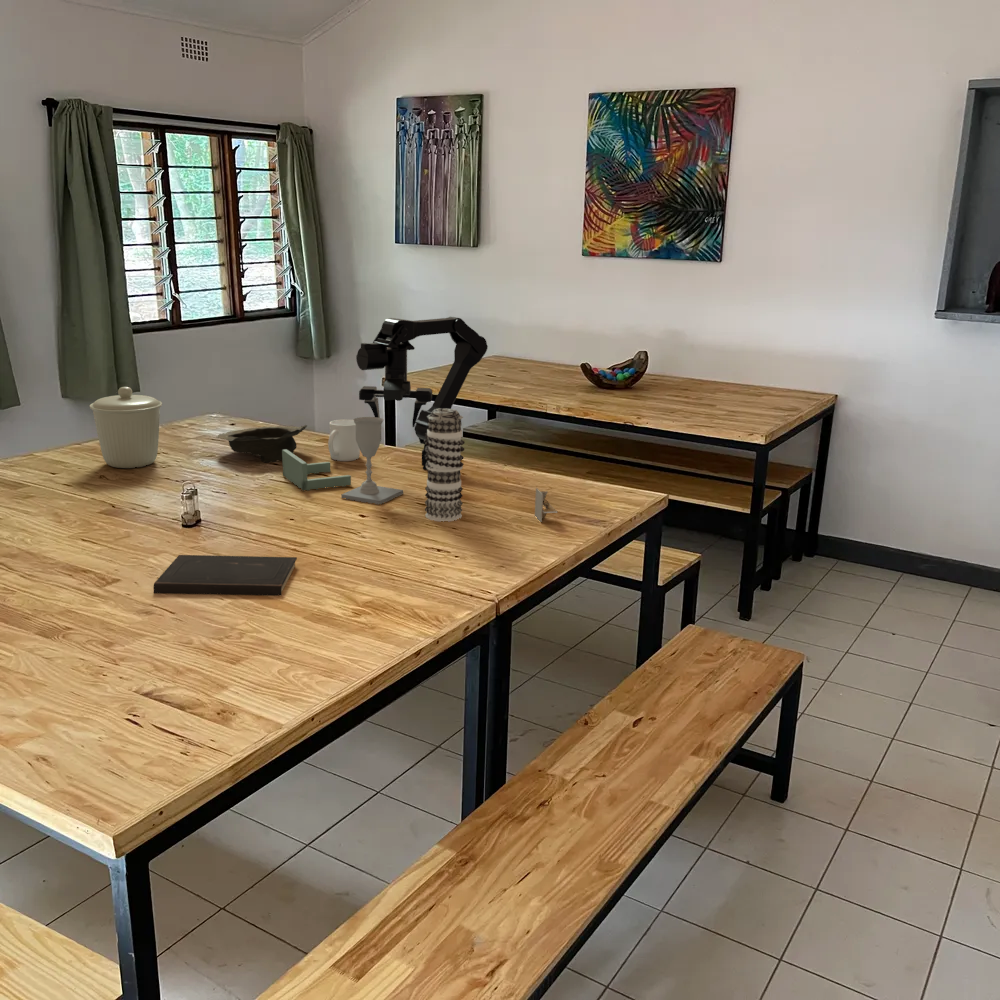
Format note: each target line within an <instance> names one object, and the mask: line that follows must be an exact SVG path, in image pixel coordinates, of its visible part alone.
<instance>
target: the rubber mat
mask: <svg viewBox="0 0 1000 1000" xmlns="http://www.w3.org/2000/svg"><path fill="white" fill-rule="evenodd" d="M360 487H361V485H360V486H357V487H355V488H353V489H351V490H348V491H346V492H344V493H341V496H340V497H341V498H340V499H342V498H346V499H345V500H348V499H350V501H354V500H355V502H360V501H361V503H366V502H368V503H367V504H372V503H375V504H374V505H379V504H381V505H382V503H383V504H384V502H385V503H388V502H389V501H391V500H393V498H394V499H396V498H398V497H400V496H402V495H404V490H403V489H399V488H394V487H393V488H392V487H386V486H381V485H377V487H378V489H379V492H378V493H375V494H363V493H360V492H359V490H360ZM395 497H396V498H395Z"/></svg>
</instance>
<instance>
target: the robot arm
mask: <svg viewBox="0 0 1000 1000" xmlns="http://www.w3.org/2000/svg"><path fill="white" fill-rule="evenodd" d="M440 334H443V335H444V334H449V336H450V338H451V339H450V340H452V341H453V343H454V344H455V348H454V350H453V351H454V352H453V353H454V354H453V355H454V361H453V363H452V365H451V367H450V369H449V371H448V373H447V375H446V377H445V380H444V381H443V383H442V385H441V387H440V389H439V392H438V393H437V395H436V397H435V399H434V401H433V404H432V405H431V407H430V408H429V409H428V410H424V409H422V406H426V405H427V403H431V402H432V400H433V389H431V388H430V387H417V388H416V390H411V389H412V388H411V387H412V385H411V381H410V380H409V381H408V351H413V350H415V348H416V347H414V345H412V344H411V342H410V341H412V340H414V339H416V338H418V337H421V336H431V335H440ZM488 347H489V346H488V343H487V339H486V338H485V337H483V336H482V335H480V334H479V333H478V332H476V331H475V330H474V329H473V328H472V327H471V326H469V325H468V324H467V323H466V322H465V321H464V320H463V319H462V318H460V317H455V316H449V317H441V318H430V319H421V320H420V319H419V320H409V319H401V318H395V317H388V318H386V319H385V320H384V321H383V323H382V324H381V327H380V330H379V331H378V333H377V335H376V336H375V338H374V340H373V341H372V343H371V342H370V343H369V342H368V343H367V342H361V343H360V348H359V349H358V350H357V354H356V355H355V356H356V359H355V360H356V363H357V367H358V368H359V370H361V371H370V370H371V371H373V370H383V369H384V381H383V387H382V388H383V389H378V388H377V386H375V385H374V386H371V385H370V386H368V385H364V386H362V387H361V388H360V390H359V391H358V393H359V394H358V399H359V401H363V402H364V404H368V406H369V407H370V409H371V410H372V413H373V417H378V418H381V417H380V406H379V398H383V399H384V400H385V401H393V400H394V401H400V402H401V401H402V400H403V399H415V401H414V405H413V408H414V409H413V415H412V421H411V423H412V425H411V427H412V428H414V430H413V431H414V432H415V435H416V437H417V438H418V440H419V443H420V444H421V445H422V444H423V449H421V466H422V469H423V470H428V469H427V468H426V465H425V464H426V462H427V461H428V460H426V458H425V455H426V451H425V448H426V446H427V445H426V444H425V442H424V440H425V438H426V437H425V436H424V435H426V434H425V433H427V429H428V417H427V416H428V415H430V414H431V412H432V411H433V410H435V409H439V408H450V409H452V407H453V405H454V403H455V402H456V400H457V399H456V398H457V397H458V395H459V393H460V391H461V389H462V387H463V385H464V382H465V381H466V378H467V377H468V375H469V373H470V371H471V370H472V369H473V368H474V366H476V365H477V364H478V363H480V361H482V359H483V357H484V356H485V355H486V353H487V350H488ZM428 442H429V440H428Z"/></svg>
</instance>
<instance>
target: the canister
mask: <svg viewBox="0 0 1000 1000" xmlns="http://www.w3.org/2000/svg"><path fill="white" fill-rule="evenodd" d="M117 394H118V395H110V396H105V397H101V398H97V400H94V402H92V403H91V404H89V409H90V410H92V413H93V414H92V415H93V418H94V419H93V420H94V423H95V429H96V434H97V438H98V442H99V446H100V451H101V454H102V458H103V460H104V462H105V463H106V464H107V465H108V466H110V467H113V468H118V469H136V468H135V467H137V468H142V467H143V468H144V467H147V466H149V465H152V464H153V463H154V462H155V461H156V459H157V457H158V451H159V441H160V440H159V437H160V436H159V435H160V417H161V414H160V411H161V410H160V409H161V407H162V406H163V402H162V401H161V400H158V399H157V398H155V397H153V396H148V395H145V394H144V395H141V394H133V390H132V388H131V387H130V386H129V387H128V386H121V387H119V389H118V390H117ZM146 465H147V466H146Z"/></svg>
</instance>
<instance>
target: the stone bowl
mask: <svg viewBox="0 0 1000 1000" xmlns="http://www.w3.org/2000/svg"><path fill="white" fill-rule="evenodd" d="M307 427H308V425H307V424H305V425H301V426H299V427H298V426H296V425H295V426H288V425H287V426H286V425H285V426H284V425H279V426H272V425H271V426H260V427H251V428H243V429H237V430H231V431H228V432H226V433H225V432H224V433H220V434H218V435H217V436H216V437H215V438H217V439H221V440H225V441H228V444H229V447H230V449H231V450H232V451H233V452H236V453H242V454H243V453H244V454H251V455H252V456H260V460H261V462H262V463H265V464H268V463H269V462H270V463H275V462H277V461H278V462H279V461H282V450H285V449H287V450H288V451H290V452H291V453H293V454H294V451H295V450H297V443H296V440H295V437H294V436H297V435H299V434H301V432H303V431H304V430H305V429H307ZM294 455H295V454H294Z"/></svg>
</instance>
